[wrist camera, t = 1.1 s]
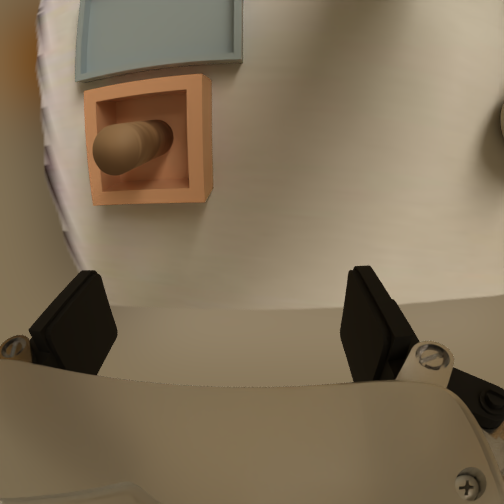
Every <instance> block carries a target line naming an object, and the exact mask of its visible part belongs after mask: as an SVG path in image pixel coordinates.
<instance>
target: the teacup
mask: <svg viewBox="0 0 504 504" xmlns="http://www.w3.org/2000/svg"><path fill="white" fill-rule="evenodd" d="M500 121H501V130H502V134H503V137H504V104H503V106H502V110H501V118H500Z"/></svg>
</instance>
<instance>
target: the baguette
mask: <svg viewBox="0 0 504 504" xmlns="http://www.w3.org/2000/svg"><path fill="white" fill-rule="evenodd" d="M173 139H174V136H173V131H172V129H171V127H170V126H169V125H168V124H167V123H166V122H164V121H162V120H146V121H137V122H128V123H120V124H113V125H109V126H106V127H105V128H103V129H102V130H101V131H100V132H99V133H98V134H97V136H96V138H95V140H94V143H93V149H92V151H93V158H94V161H95V163H96V165H97V166H98V168H99V169H100V170H101V171H103V172H104V173H106V174H108V175H113V176H117V175H121V174H124V173H126V172H128V171H130V170H132V169H134V168H136V167H138V166H140V165H142V164H144V163H146V162H148V161H150V160H152V159H155V158H157V157H159V156H161V155H163V154H165V153H166V152H167V151H168V150H169V149H170V148H171V146H172V144H173Z"/></svg>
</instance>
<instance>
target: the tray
mask: <svg viewBox="0 0 504 504" xmlns="http://www.w3.org/2000/svg"><path fill="white" fill-rule="evenodd" d="M222 63H243V0H80V8H79V17H78V28H77V41H76V62H75V82H84V83H86V82H90V81H94V80H99V79H103V78H108V77H113V76H118V75H123V74H129V73H135V72H141V71H148V70H155V69H162V68H171V67H180V66H191V65H204V64H222Z"/></svg>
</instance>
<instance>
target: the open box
mask: <svg viewBox="0 0 504 504" xmlns="http://www.w3.org/2000/svg"><path fill="white" fill-rule="evenodd" d="M84 113H85V133H86V146H87V158H88V168H89V177H90V185H91V193H92V200H93V206H96V205H117V204H144V203H189V202H205V201H206V200H207V198H208V196H209V195H210V193H211V191H212V190H213V159H212V80H211V79H209V78H208V77H206V76H205V75H203V74H190V75H179V76H169V77H161V78H153V79H145V80H139V81H132V82H126V83H121V84H115V85H110V86H105V87H100V88H95V89H91V90H86V91H84ZM146 120H162V121H164V122H166V123H167V124H168V125H169V126H170V127H171V129H172V131H173V136H174V139H173V144H172V146H171V148H170V149H169V150H168V151H167V152H166V153H165V154H163V155H161V156H159V157H157V158H155V159H152V160H150V161H148V162H146V163H144V164H142V165H140V166H138V167H136V168H134V169H132V170H130V171H128V172H126V173H124V174H121V175H117V176H113V175H108V174H106V173H104V172H103V171H101V170H100V169H99V168H98V166H97V165H96V163H95V161H94V158H93V151H92V149H93V143H94V140H95V138H96V136H97V134H98V133H99V132H100V131H101V130H102V129H103V128H105V127H106V126H109V125H113V124H120V123H128V122H137V121H146Z"/></svg>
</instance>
